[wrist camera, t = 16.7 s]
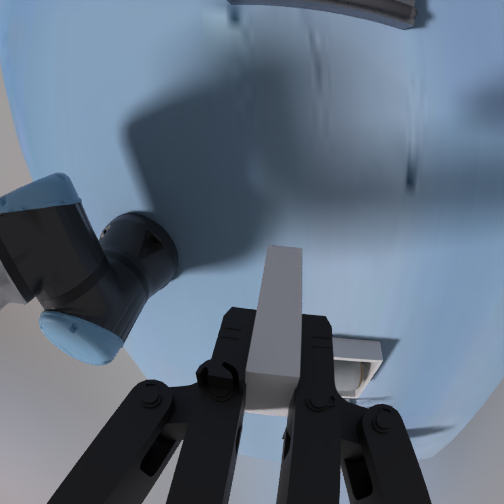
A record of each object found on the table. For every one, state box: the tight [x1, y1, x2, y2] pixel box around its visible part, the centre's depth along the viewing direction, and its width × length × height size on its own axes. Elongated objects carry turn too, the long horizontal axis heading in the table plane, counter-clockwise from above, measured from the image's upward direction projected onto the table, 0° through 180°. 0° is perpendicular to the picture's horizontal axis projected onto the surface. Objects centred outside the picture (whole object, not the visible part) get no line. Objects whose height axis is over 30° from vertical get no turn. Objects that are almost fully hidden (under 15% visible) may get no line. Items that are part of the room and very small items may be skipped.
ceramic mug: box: [334, 360, 363, 391], centre depth 56 cm, size 11×8×8 cm
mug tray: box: [332, 337, 383, 399], centre depth 58 cm, size 14×16×5 cm
